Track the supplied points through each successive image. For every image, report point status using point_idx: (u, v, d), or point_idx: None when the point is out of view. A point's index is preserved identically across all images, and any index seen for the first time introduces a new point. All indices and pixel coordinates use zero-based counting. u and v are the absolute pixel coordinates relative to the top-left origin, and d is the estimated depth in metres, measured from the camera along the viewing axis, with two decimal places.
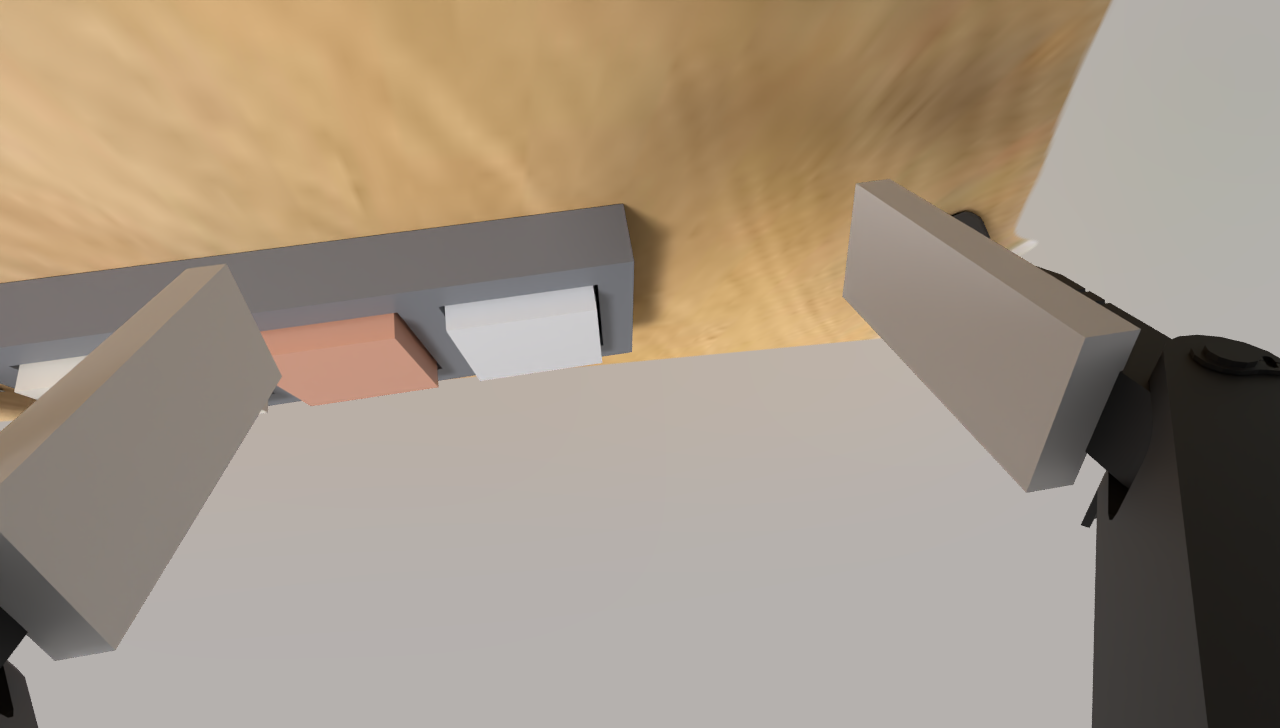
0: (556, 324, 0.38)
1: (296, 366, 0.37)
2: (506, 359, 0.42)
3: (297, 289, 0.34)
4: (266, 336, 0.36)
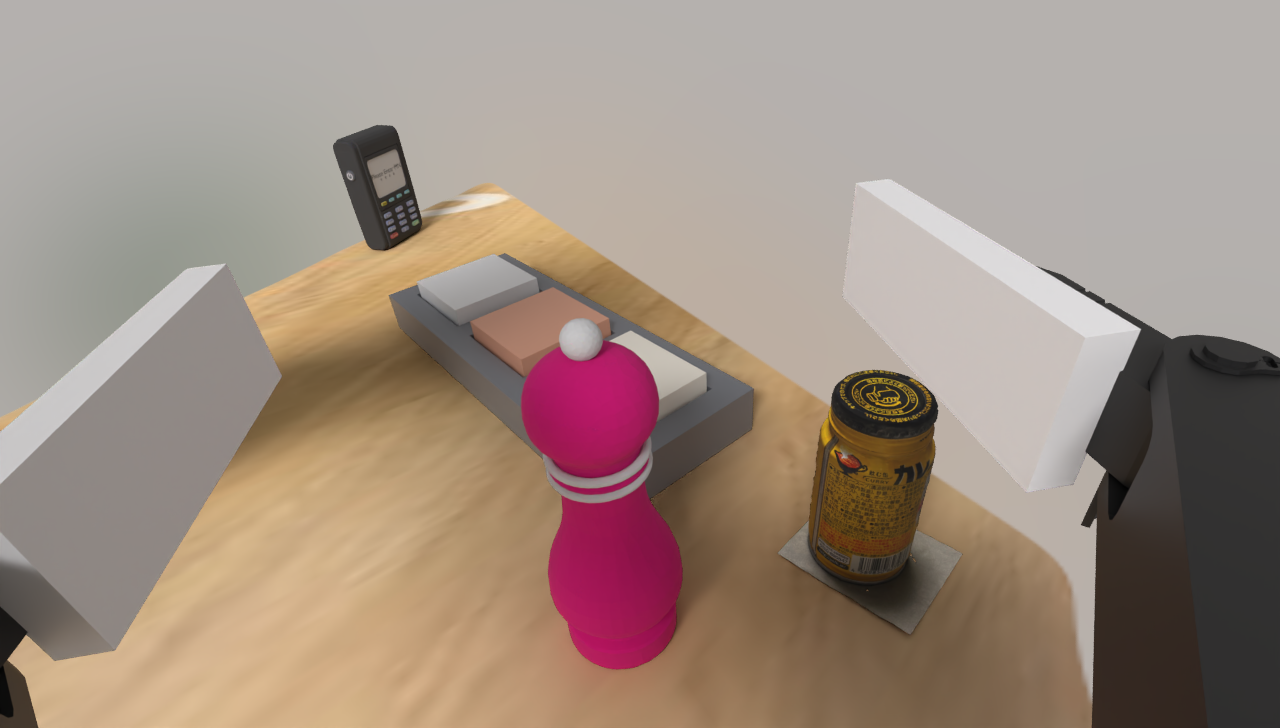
0: (439, 284, 0.62)
1: (525, 339, 0.52)
2: (495, 281, 0.62)
3: (473, 375, 0.53)
4: (513, 365, 0.51)
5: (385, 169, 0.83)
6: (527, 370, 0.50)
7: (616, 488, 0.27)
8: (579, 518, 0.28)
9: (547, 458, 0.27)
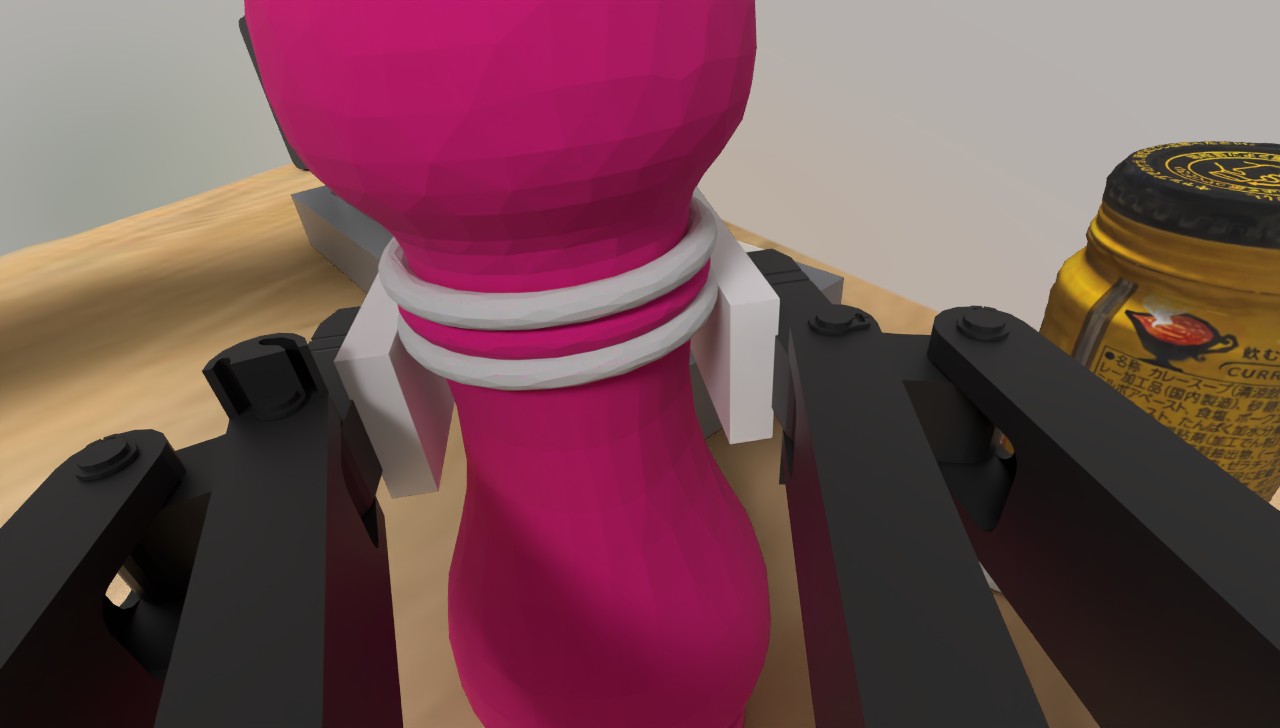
0: None
1: None
2: None
3: None
4: None
5: None
6: None
7: (609, 335, 0.08)
8: (501, 457, 0.10)
9: (388, 257, 0.09)
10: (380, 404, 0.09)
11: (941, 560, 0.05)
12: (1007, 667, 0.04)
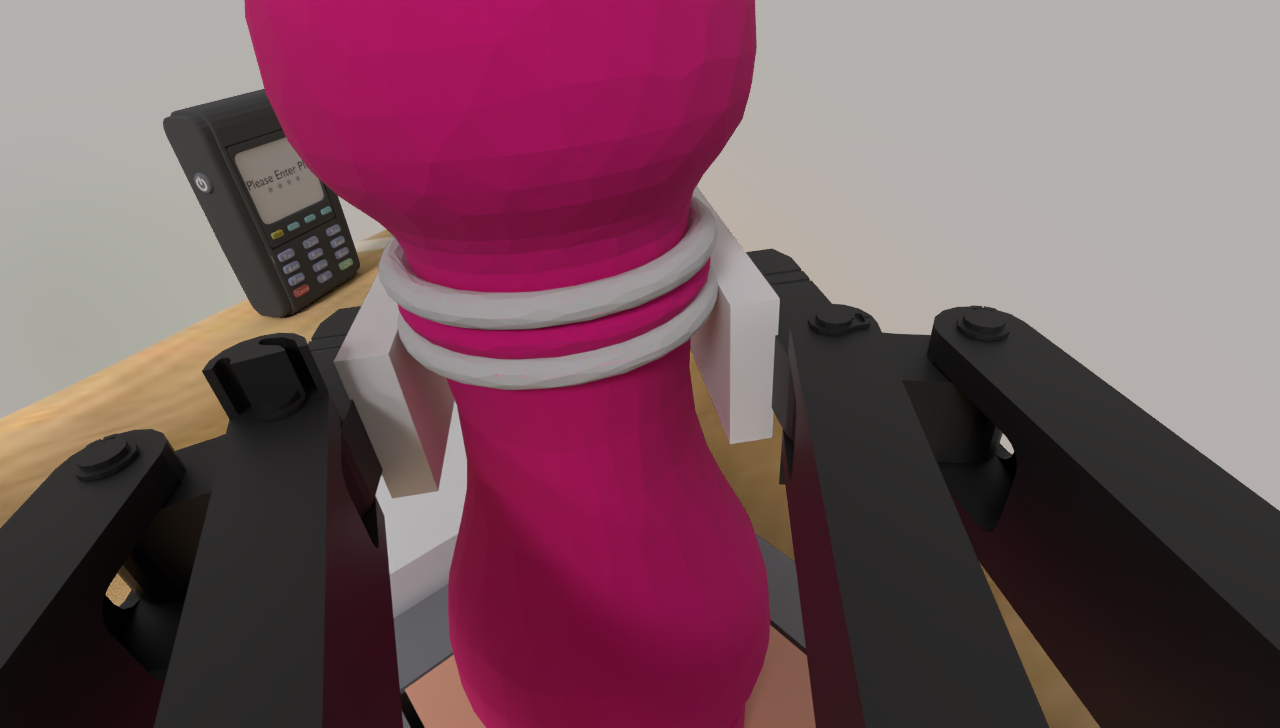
0: None
1: None
2: None
3: None
4: None
5: (278, 170, 0.44)
6: None
7: (609, 335, 0.08)
8: (501, 457, 0.10)
9: (388, 257, 0.09)
10: (380, 404, 0.09)
11: (940, 559, 0.05)
12: (1007, 667, 0.04)
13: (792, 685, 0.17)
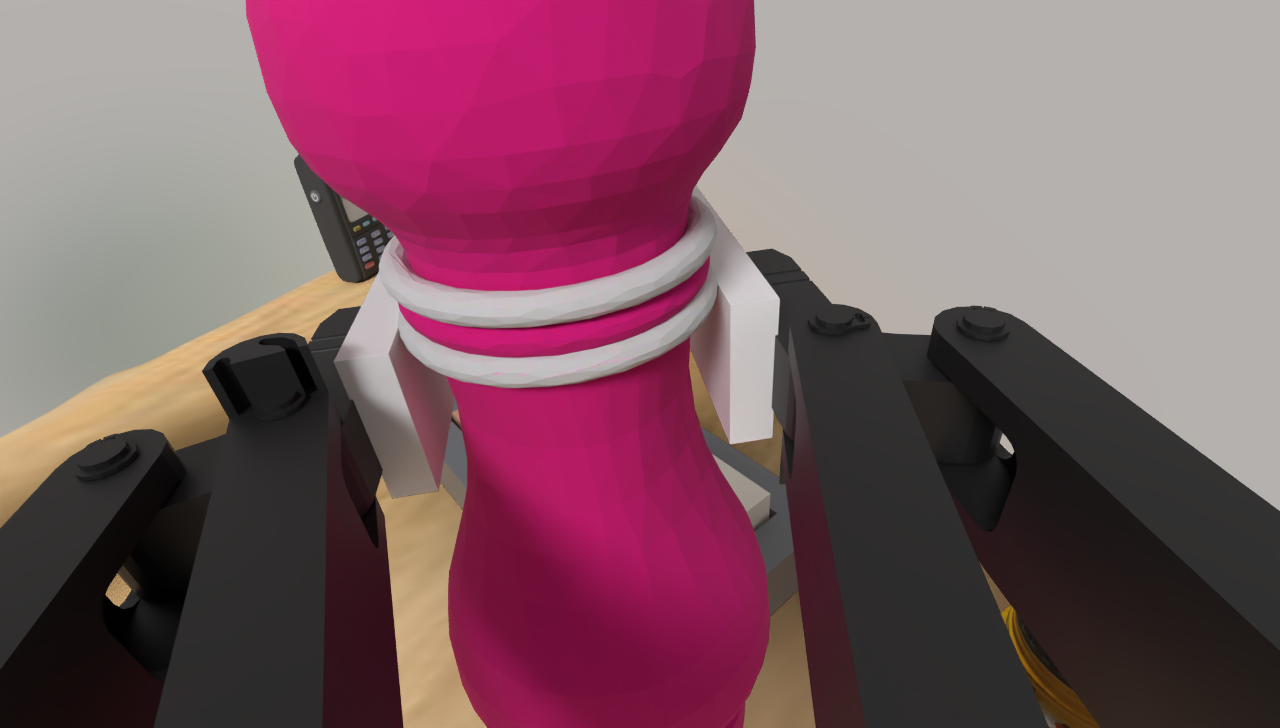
0: None
1: None
2: None
3: (450, 476, 0.39)
4: None
5: None
6: None
7: (609, 333, 0.08)
8: (502, 455, 0.10)
9: (389, 256, 0.09)
10: (380, 403, 0.09)
11: (940, 559, 0.05)
12: (1007, 667, 0.04)
13: None
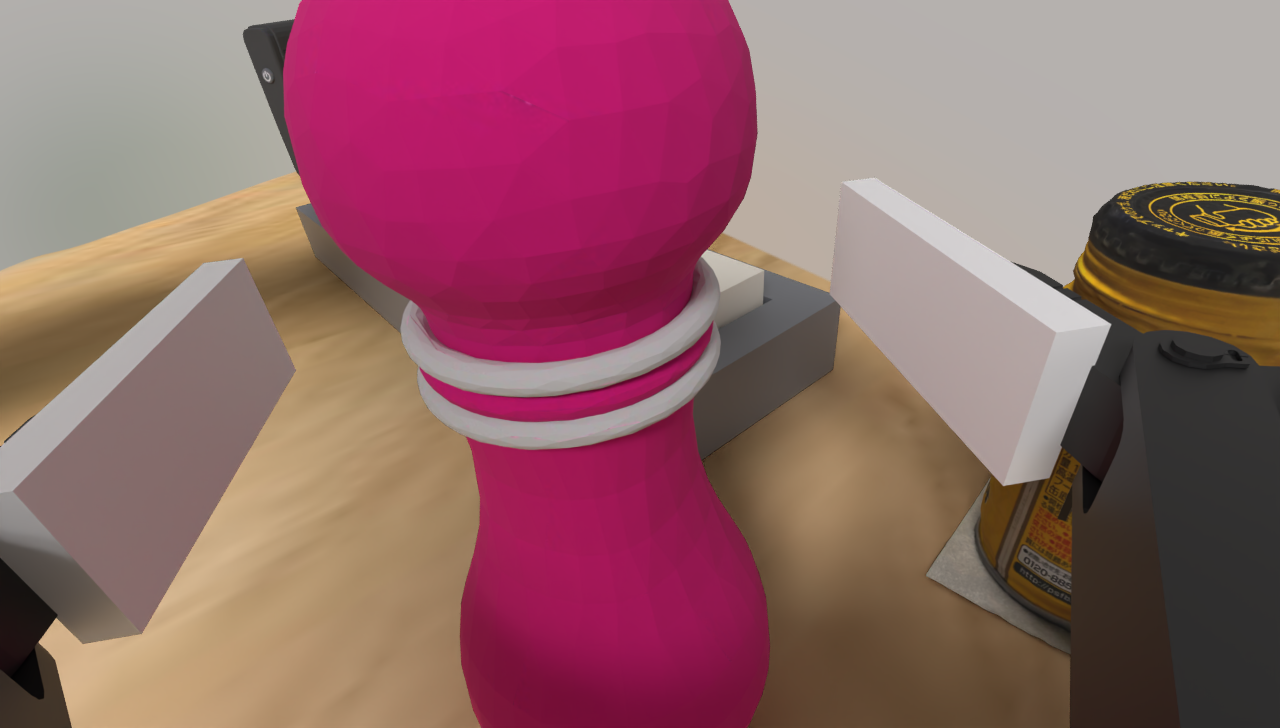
0: None
1: None
2: None
3: (395, 298, 0.34)
4: None
5: None
6: None
7: (618, 400, 0.08)
8: (515, 503, 0.10)
9: (410, 319, 0.09)
10: (24, 545, 0.07)
11: None
12: None
13: None
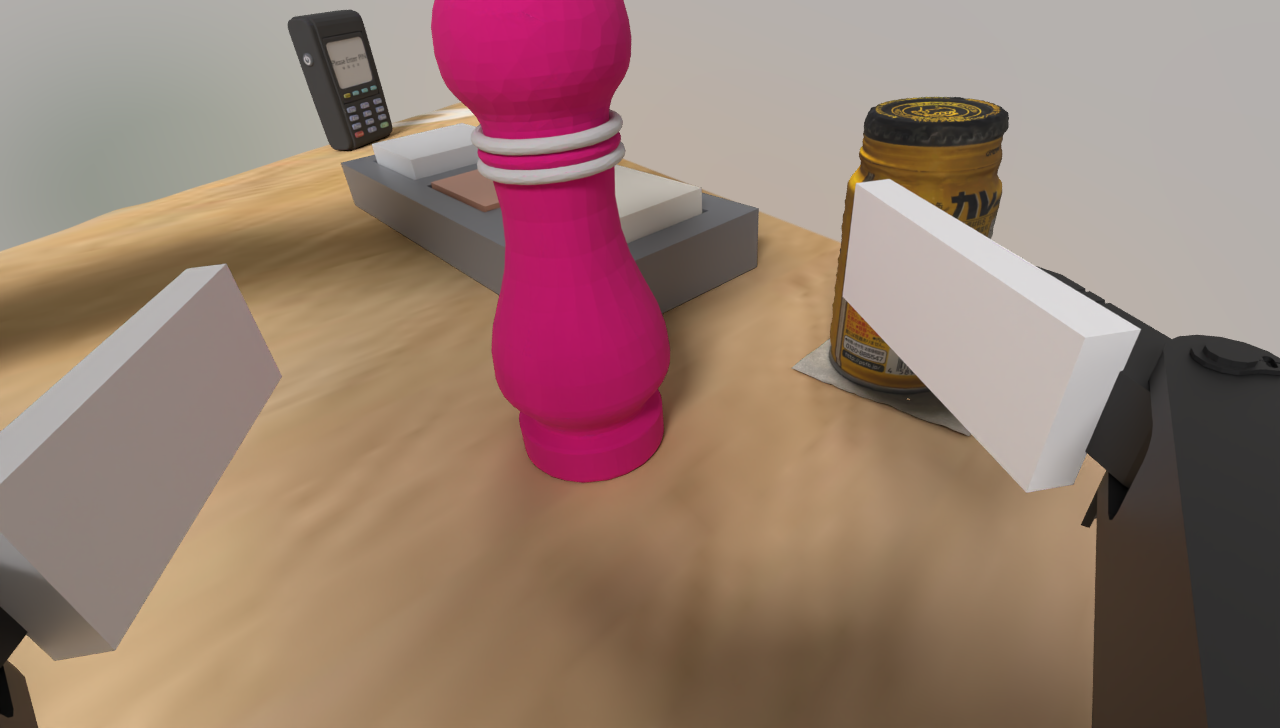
0: (396, 144, 0.54)
1: (492, 192, 0.45)
2: (460, 139, 0.54)
3: (428, 220, 0.45)
4: None
5: (347, 57, 0.75)
6: None
7: (570, 159, 0.19)
8: (524, 231, 0.21)
9: (475, 132, 0.20)
10: None
11: None
12: None
13: None
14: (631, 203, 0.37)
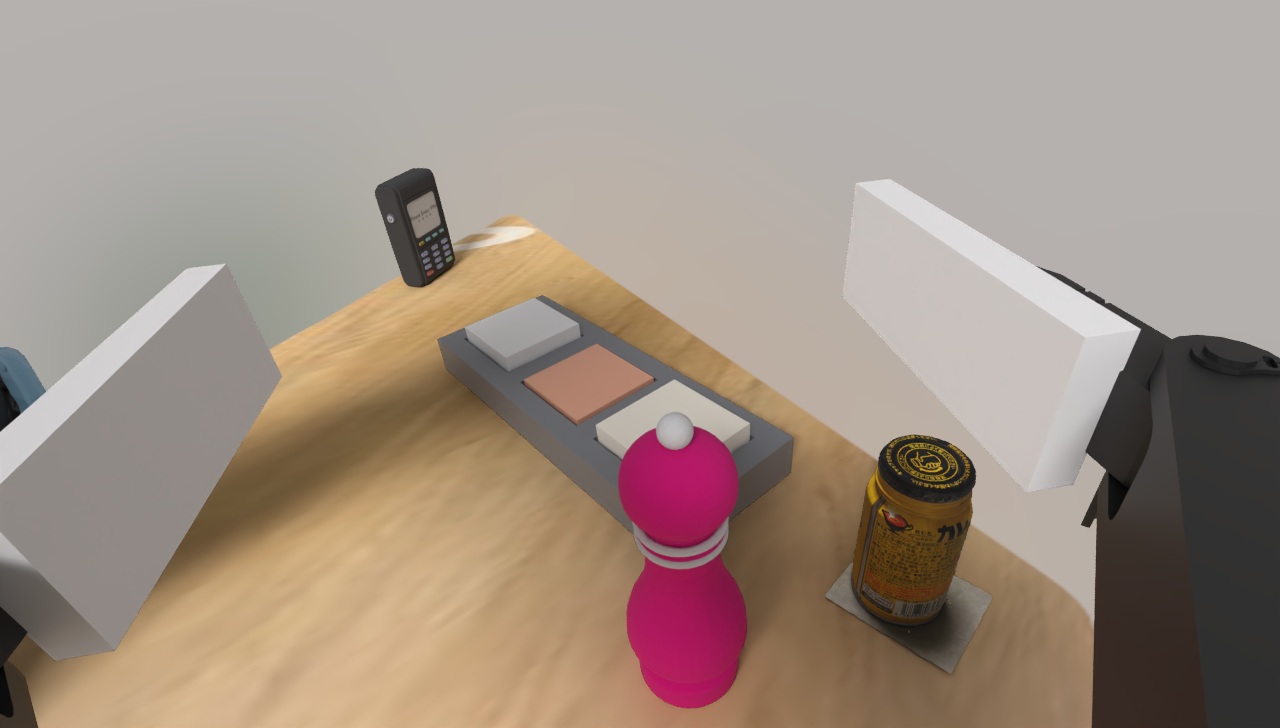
0: (486, 330, 0.66)
1: (578, 399, 0.56)
2: (540, 327, 0.66)
3: (527, 422, 0.56)
4: None
5: (422, 210, 0.86)
6: None
7: (701, 556, 0.30)
8: (664, 579, 0.32)
9: (638, 528, 0.31)
10: None
11: None
12: None
13: (634, 374, 0.59)
14: None
